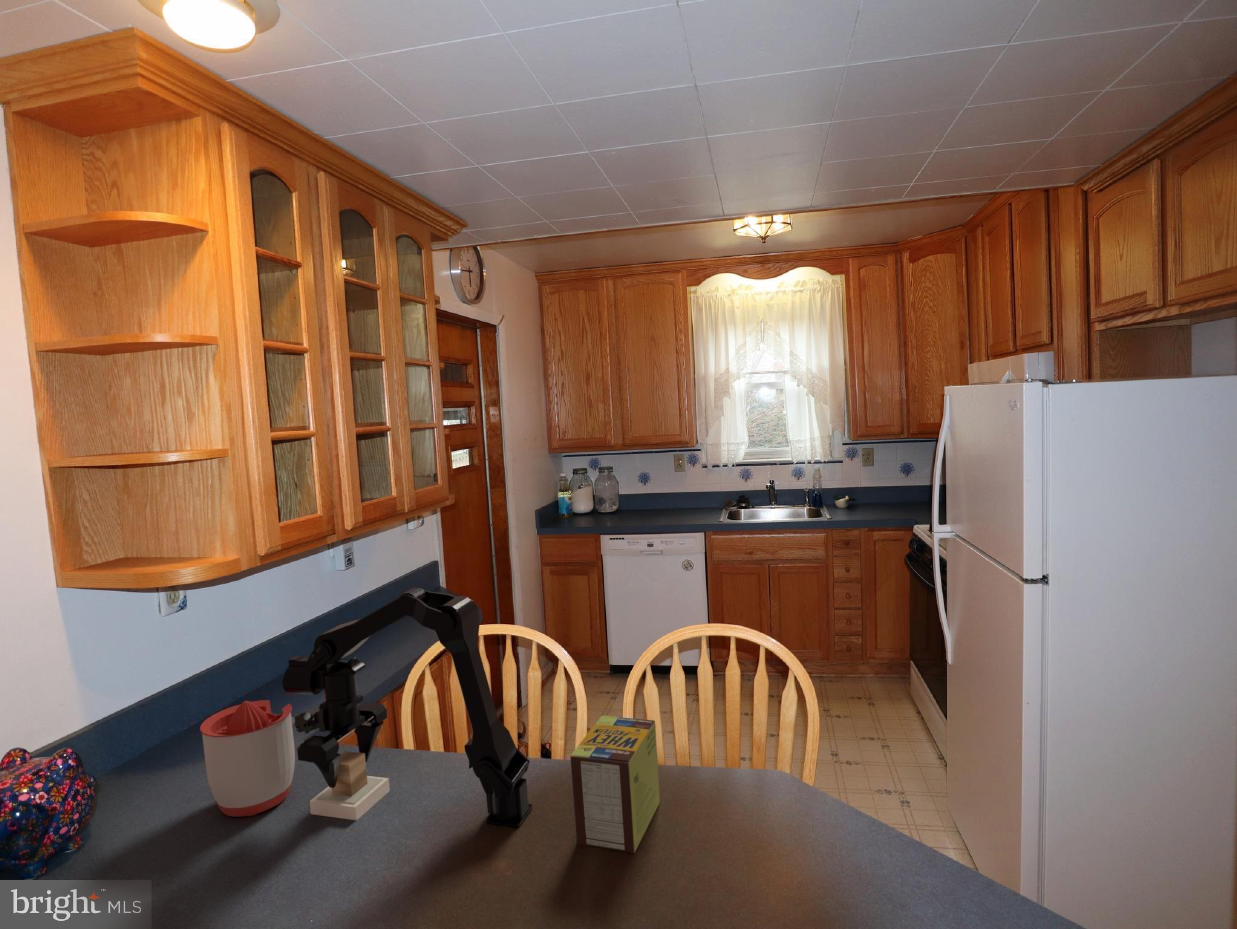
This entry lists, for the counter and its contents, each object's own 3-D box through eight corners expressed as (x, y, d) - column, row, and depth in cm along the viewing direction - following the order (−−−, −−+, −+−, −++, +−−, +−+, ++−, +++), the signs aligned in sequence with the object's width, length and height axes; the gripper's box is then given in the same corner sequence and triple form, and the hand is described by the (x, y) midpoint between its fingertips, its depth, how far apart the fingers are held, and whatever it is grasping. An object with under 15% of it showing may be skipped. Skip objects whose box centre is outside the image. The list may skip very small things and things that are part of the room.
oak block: (367, 783, 135) (364, 753, 135) (352, 796, 131) (349, 765, 131) (347, 780, 137) (345, 751, 136) (332, 793, 132) (328, 762, 132)
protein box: (660, 802, 128) (656, 719, 127) (635, 854, 114) (629, 762, 112) (606, 794, 132) (601, 714, 130) (574, 845, 117) (568, 754, 116)
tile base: (389, 790, 137) (388, 777, 137) (356, 820, 128) (355, 806, 128) (346, 785, 140) (345, 772, 140) (310, 814, 131) (309, 800, 131)
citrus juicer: (325, 783, 142) (315, 686, 140) (247, 832, 126) (236, 724, 124) (270, 770, 148) (260, 677, 147) (190, 815, 133) (178, 712, 131)
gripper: (338, 673, 144) (345, 747, 145) (268, 712, 126) (277, 796, 127) (385, 676, 140) (392, 751, 142) (320, 717, 123) (328, 803, 124)
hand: (348, 774), depth 134 cm, fingers open, 9 cm apart
